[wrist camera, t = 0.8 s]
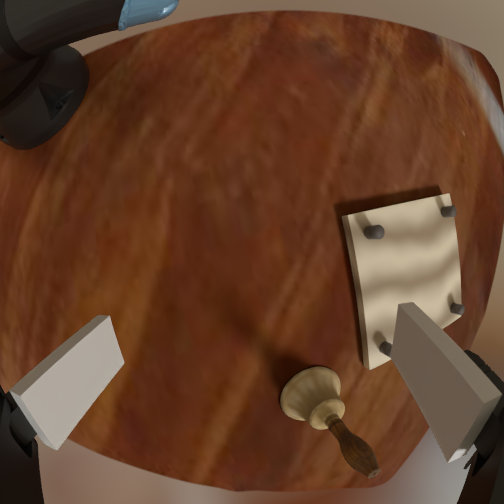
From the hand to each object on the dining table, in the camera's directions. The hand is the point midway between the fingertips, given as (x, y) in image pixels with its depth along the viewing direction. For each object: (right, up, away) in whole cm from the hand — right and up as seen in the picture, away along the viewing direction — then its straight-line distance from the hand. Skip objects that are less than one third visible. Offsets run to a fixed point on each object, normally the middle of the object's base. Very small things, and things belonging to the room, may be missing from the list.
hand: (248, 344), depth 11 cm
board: (+22, +1, +22) cm, 32 cm away
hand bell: (+8, -14, +20) cm, 26 cm away
